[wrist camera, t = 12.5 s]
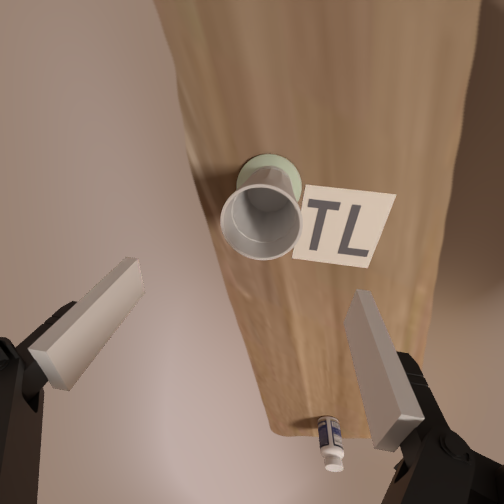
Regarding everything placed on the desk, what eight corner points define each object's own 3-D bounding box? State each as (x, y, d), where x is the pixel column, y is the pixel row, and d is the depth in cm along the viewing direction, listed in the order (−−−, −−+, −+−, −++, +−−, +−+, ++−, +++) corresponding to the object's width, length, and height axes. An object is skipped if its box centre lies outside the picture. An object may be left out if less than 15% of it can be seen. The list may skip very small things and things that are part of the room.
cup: (274, 226, 36) (268, 273, 26) (230, 194, 35) (205, 231, 25) (311, 183, 32) (321, 218, 22) (263, 145, 31) (250, 165, 21)
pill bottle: (318, 425, 65) (322, 472, 57) (316, 415, 63) (320, 462, 54) (339, 426, 64) (346, 474, 56) (338, 415, 61) (346, 464, 53)
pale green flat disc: (238, 150, 32) (237, 151, 32) (307, 157, 31) (307, 158, 31) (236, 213, 37) (235, 215, 36) (295, 221, 36) (295, 222, 36)
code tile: (305, 183, 34) (305, 184, 33) (395, 193, 33) (396, 194, 32) (291, 256, 40) (292, 258, 39) (366, 266, 39) (367, 268, 39)
